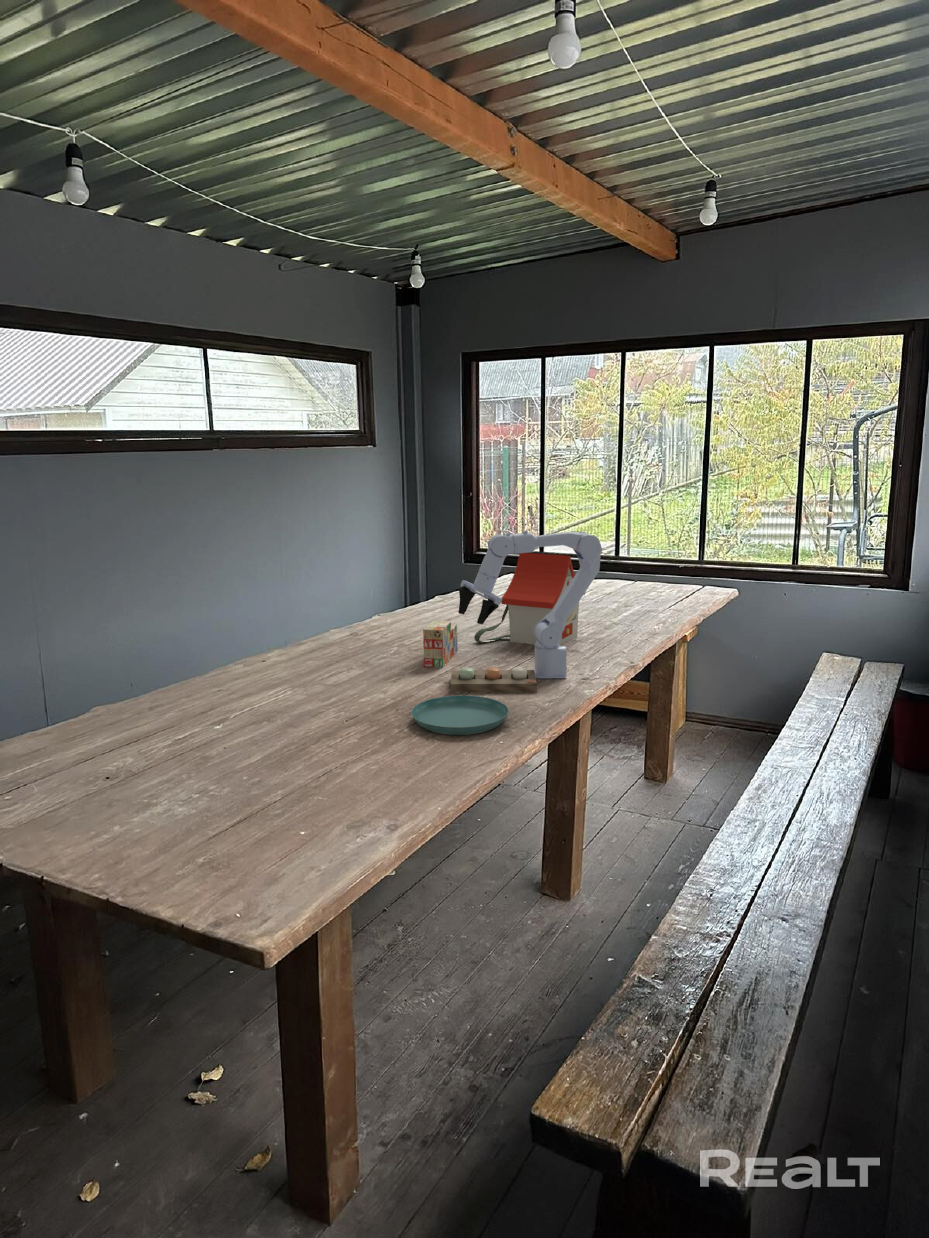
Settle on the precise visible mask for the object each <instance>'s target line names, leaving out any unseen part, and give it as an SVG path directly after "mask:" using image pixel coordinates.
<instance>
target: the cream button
mask: <svg viewBox="0 0 929 1238" xmlns="http://www.w3.org/2000/svg"><path fill="white" fill-rule="evenodd" d="M512 670H513V679H527V670H528V668H527V667H521V666H517V667H513V668H512Z"/></svg>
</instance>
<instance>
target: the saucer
mask: <svg viewBox="0 0 929 1238" xmlns="http://www.w3.org/2000/svg"><path fill="white" fill-rule="evenodd" d="M410 713H411V716H412V718H413V720H414V721H415V722H416V723H417V724H418V726H420V727H422V728H423V729H425V730H427V731H430V732H431V733H432V732H433V733H436V734H439V735H449V736H467V735H476V734H481V733H485V732H488V731H491V730H493V729H495V728H496V727H498V726H499V725H501V724H502V723H503V722H504V721H505V719H506V718H507V717H508V714H509V708H508V706H507V705H506V704H505V703H503V702H501V701H499V700H497V699H493V698H490V697H485V696H479V695H478V696H477V695H468V694H467V695H465V694H464V695H446V696H440V697H439V696H438V697H433V698H430V699H426V700H424V701H422V702H419V703H417V704H416V705H415V706H414V707H412V709H411V711H410Z"/></svg>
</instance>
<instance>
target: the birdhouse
mask: <svg viewBox="0 0 929 1238" xmlns="http://www.w3.org/2000/svg"><path fill="white" fill-rule="evenodd" d="M518 555H519V556H518V559H517V563H516V568H515V570H514V573H513V576H512V578H511V581H510V584H509V585H508V587H507V588H506V590H505V592H504V594H503V595H502V596H501V598H502V601H501V604H500V605H506V606H505V608H504V611H503V614H502V617H501V621H500V622H499V623H498V624H496V625H492V626H490V627H485V628H481V629H479V630H478V631H477V632H476V633H475V634H474V641H475V642H477V643H480V644H482V643H485V644H488V643H487V642H482V641H483V640H481V636H482V635H483V634H484V633H486V632H492V631H494V630H496V629H497V628H499V626H500V625H501V624H502V623H503V622H504V621H505V618H506V615H507V614H508V621H509V634H505V635H501V636H498V637H491V638H488V639H486V640H497V641H499V640H502V639H504V638H509V639H510V641H509V642H510V643H518V644H524V643H527V644H526V645H532V644H533V646H535V643H536V641H537V639H536V638H535V636H534V633H533V630H534V627H535V625H536V624H537V623H538V622H540V621H542V620H543V619H544V617H545V616H546V615H547V614H549V613H550V612H551V611H552V609H553V608H554V606H555V605H556V603H557V602H558V600H559V599H560V597H561V596H562V594H563V593H564V591H565V590H566V588H567V587H568V585H569V584H570V582H571V581H572V579H573V578H574V576H575V575H576V573H575V571H574V567H573V564H572V559H571V555H563V554H547V553H535V552H529V553H519V554H518ZM585 595H586V592H585V593H584V595H583V596H585ZM579 610H580V601H579V602H578V604H577V605H576V607H575V608H574V610H573V611H572V613H571V614H570V616H569V617H568V619H567V620H566V622H565V629H564V631H563V632H562V635H561V640H560V643H559V646H563V645H564V644H566V643H568V642H569V641H571V640H573V639H574V638H577V637H578V634H579V633H578V632H579V631H578V629H579V628H578V627H579ZM489 643H493V642H492V641H490V642H489ZM563 643H564V644H563Z"/></svg>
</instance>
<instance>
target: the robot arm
mask: <svg viewBox="0 0 929 1238" xmlns="http://www.w3.org/2000/svg"><path fill="white" fill-rule="evenodd" d="M601 544H602V543H601V541H600V539H599V538H598V537H597V536H596V535H593V534H589V533H588V532H586V531H578V532H577V531H564V532H563V531H562V532H556V533H550V534H549V533H548V534H542V535H535V534H534V533H533V532H531V531H529V532H528V530H522V531H521V532H520V533H510V532H505V535H503V534H495V535H493V536H492V537H490V539H488V541H487V551H486V553H485V555H484V557H483V560H482V562H481V565H480V566H479V570H478V572H477V575H476V577H475V580H474V581H473V582H474V583H472V582H469V581H467V580H464V579H463V580H462V581H461V583H460V586H459V587H461V588H459V589H458V593H459V605H458V614H460V615H465V613H466V612H467V610H468V607H469V605H470V603H471V602H472V599H474V597H475V596H476V595H478V596H480V597H481V598H484V599H482V602H481V608H480V613H479V615H478V618H477V620H476V623H477V624H478V625H484V623H485V622H486V620H487V619H488V618H489V616H490V615H492V613H493V612H495V610H497V609H498V608H499V606H500V605H502V604H501V601H502V597H500V596H498V595H497V594H494V593H493V590H494V587H495V585H496V582H497V581H498V577H499V576H500V575H499V574H500V572H501V570H502V567H503V565H504V561H505V559H506V558H507V557H508V556H509V555H517V554H518V555H519V554H520V553H534V551H535V550H536V549H537V548H542V547H558V546H564V547H565V546H566V547H568V548H570V549H572V550H573V551H574V553H575V554H576V556H577V558H578V563H579V569H578V570H577V572H576V573H575V576H574V578H573V579H572V581H571V582H570V584H569V585H568V587H567V588H566V590H565V591H564V593H563V594H562V596H561V597H560V599H559V600H558V602H557V603H556V605H555V606H554V608H553V609H552V611H551V612H550V613H549V614H547V615H546V616H545V617H544V619H543V620H542V621H540V622H538V623H537V624H536V625H535V627H534V630H533V633H534V636H535V638H536V639H537V641H536V643H535V645H534V669H533V670H534V672H535V676H536V679H567V669H568V665H567V647H566V646H565V645H560V646H559V643H560V640H561V635H562V632H563V631H564V629H565V622H566V620H567V619H568V617H569V616H570V614H571V613H572V611H573V610H574V608H575V607H576V605H577V604H578V602H579V603H580V600H581V599H582V598H583V596H585V595H584V593H585V594H586V591H587V590H588V589H589V588H590V585H591V584H592V583H593V581H594V580H595V578H596V576H597V575H598V573H599V572H600V568H601V554H602V552H603V548H602V545H601Z"/></svg>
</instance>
